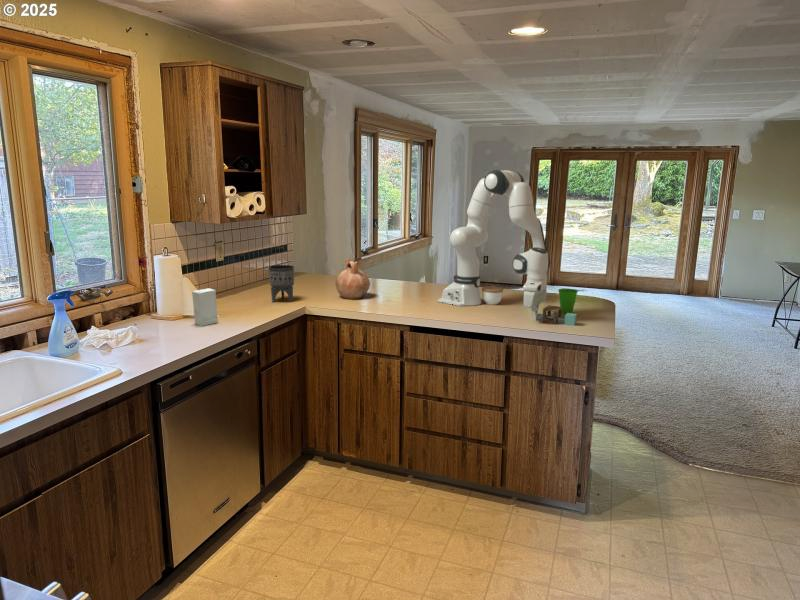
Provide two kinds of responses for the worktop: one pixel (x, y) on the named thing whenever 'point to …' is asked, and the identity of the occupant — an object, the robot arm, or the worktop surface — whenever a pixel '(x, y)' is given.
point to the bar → (559, 318)
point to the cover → (549, 309)
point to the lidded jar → (492, 295)
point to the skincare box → (205, 306)
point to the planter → (281, 280)
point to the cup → (567, 300)
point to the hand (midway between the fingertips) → (534, 314)
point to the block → (570, 319)
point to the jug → (352, 281)
